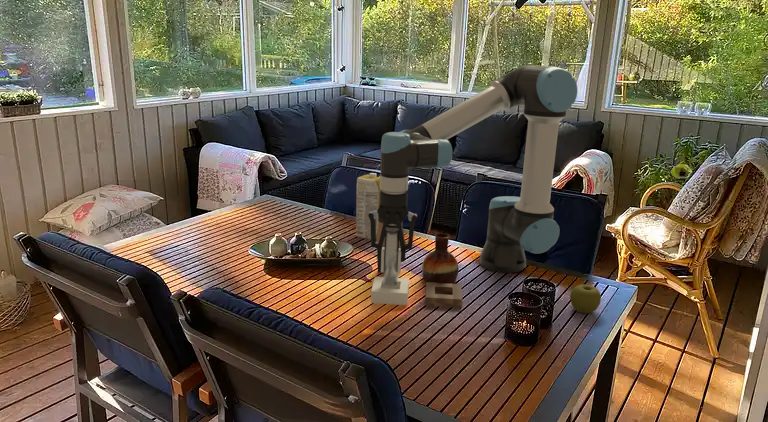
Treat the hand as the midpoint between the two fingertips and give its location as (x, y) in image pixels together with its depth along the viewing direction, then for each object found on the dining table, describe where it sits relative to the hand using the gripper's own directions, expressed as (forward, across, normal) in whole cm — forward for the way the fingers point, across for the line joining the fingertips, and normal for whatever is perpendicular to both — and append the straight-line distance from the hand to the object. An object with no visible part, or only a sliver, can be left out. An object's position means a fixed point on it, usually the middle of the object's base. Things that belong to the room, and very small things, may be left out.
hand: (390, 270), depth 158 cm
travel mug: (+9, +2, -19) cm, 21 cm away
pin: (+4, 0, 0) cm, 4 cm away
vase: (+9, -14, -14) cm, 22 cm away
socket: (+9, 0, 0) cm, 9 cm away
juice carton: (+9, +12, -52) cm, 54 cm away
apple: (+9, -54, -1) cm, 55 cm away
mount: (+9, -15, -1) cm, 17 cm away
